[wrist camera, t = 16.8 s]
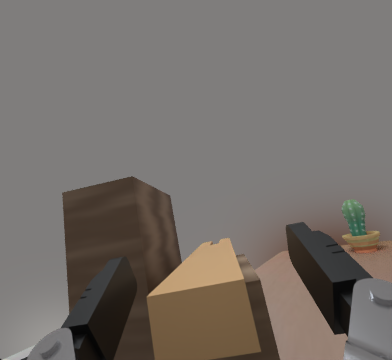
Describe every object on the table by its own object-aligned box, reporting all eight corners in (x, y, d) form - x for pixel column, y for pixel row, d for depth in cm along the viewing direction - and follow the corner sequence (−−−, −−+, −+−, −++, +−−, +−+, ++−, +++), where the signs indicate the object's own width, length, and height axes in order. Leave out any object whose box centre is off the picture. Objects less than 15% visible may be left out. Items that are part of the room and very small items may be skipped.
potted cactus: (395, 247, 97) (374, 194, 102) (369, 255, 93) (348, 200, 99) (363, 246, 111) (346, 200, 117) (339, 253, 108) (323, 205, 113)
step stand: (363, 694, 12) (228, 153, 19) (92, 698, 13) (62, 192, 20) (288, 440, 25) (226, 183, 32) (159, 455, 27) (127, 205, 34)
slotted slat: (261, 352, 8) (244, 278, 8) (155, 367, 8) (146, 296, 9) (233, 255, 31) (229, 237, 32) (206, 260, 31) (203, 242, 32)
